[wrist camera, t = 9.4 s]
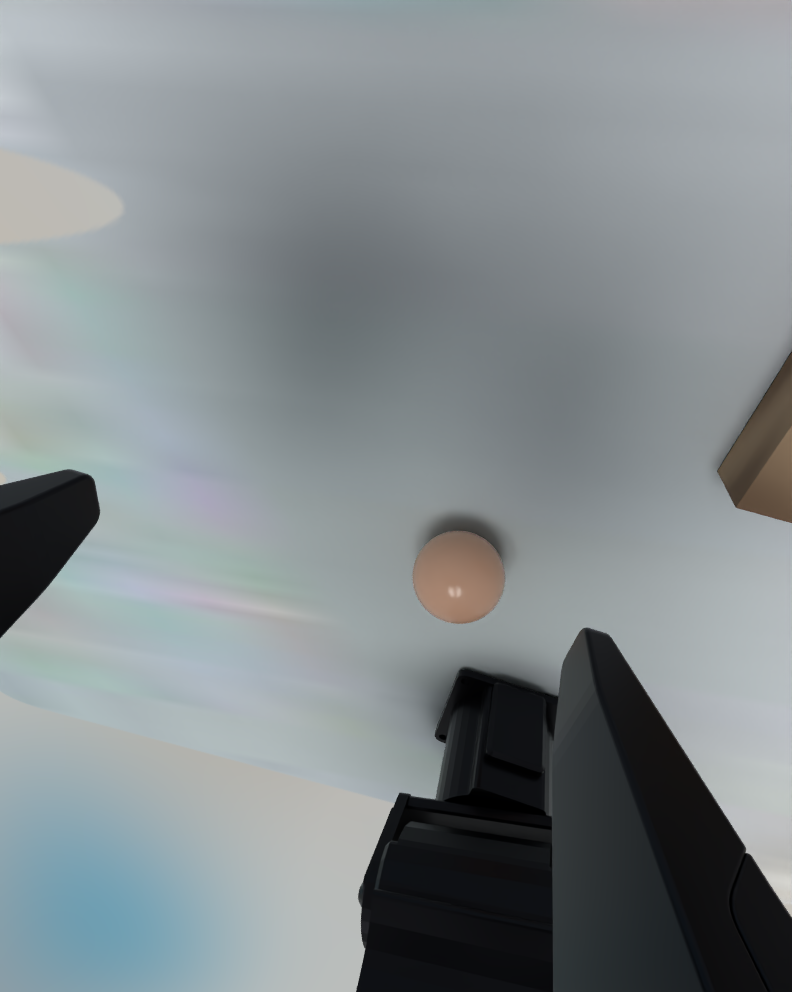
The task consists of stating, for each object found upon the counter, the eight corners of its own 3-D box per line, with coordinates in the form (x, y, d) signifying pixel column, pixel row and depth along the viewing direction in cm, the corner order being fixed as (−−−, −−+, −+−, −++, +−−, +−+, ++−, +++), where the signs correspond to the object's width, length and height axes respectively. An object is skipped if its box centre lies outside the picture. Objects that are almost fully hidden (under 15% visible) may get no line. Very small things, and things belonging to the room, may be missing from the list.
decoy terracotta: (494, 591, 26) (485, 655, 22) (415, 567, 26) (395, 626, 23) (519, 528, 23) (514, 588, 20) (432, 502, 24) (413, 558, 21)
